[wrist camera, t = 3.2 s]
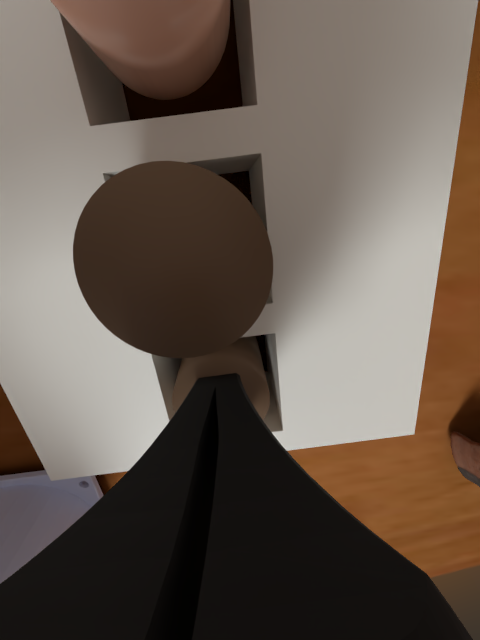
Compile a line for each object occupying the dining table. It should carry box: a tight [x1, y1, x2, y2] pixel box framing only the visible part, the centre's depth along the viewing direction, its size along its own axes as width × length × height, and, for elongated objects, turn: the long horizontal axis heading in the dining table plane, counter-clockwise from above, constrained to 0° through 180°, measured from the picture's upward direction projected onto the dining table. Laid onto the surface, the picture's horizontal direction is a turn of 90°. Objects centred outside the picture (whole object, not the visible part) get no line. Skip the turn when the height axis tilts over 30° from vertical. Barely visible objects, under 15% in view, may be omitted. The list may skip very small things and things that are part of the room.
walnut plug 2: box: [172, 336, 270, 420], centre depth 11 cm, size 3×3×4 cm
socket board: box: [0, 0, 478, 481], centre depth 10 cm, size 16×14×4 cm
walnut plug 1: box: [73, 161, 273, 358], centre depth 6 cm, size 3×3×4 cm
